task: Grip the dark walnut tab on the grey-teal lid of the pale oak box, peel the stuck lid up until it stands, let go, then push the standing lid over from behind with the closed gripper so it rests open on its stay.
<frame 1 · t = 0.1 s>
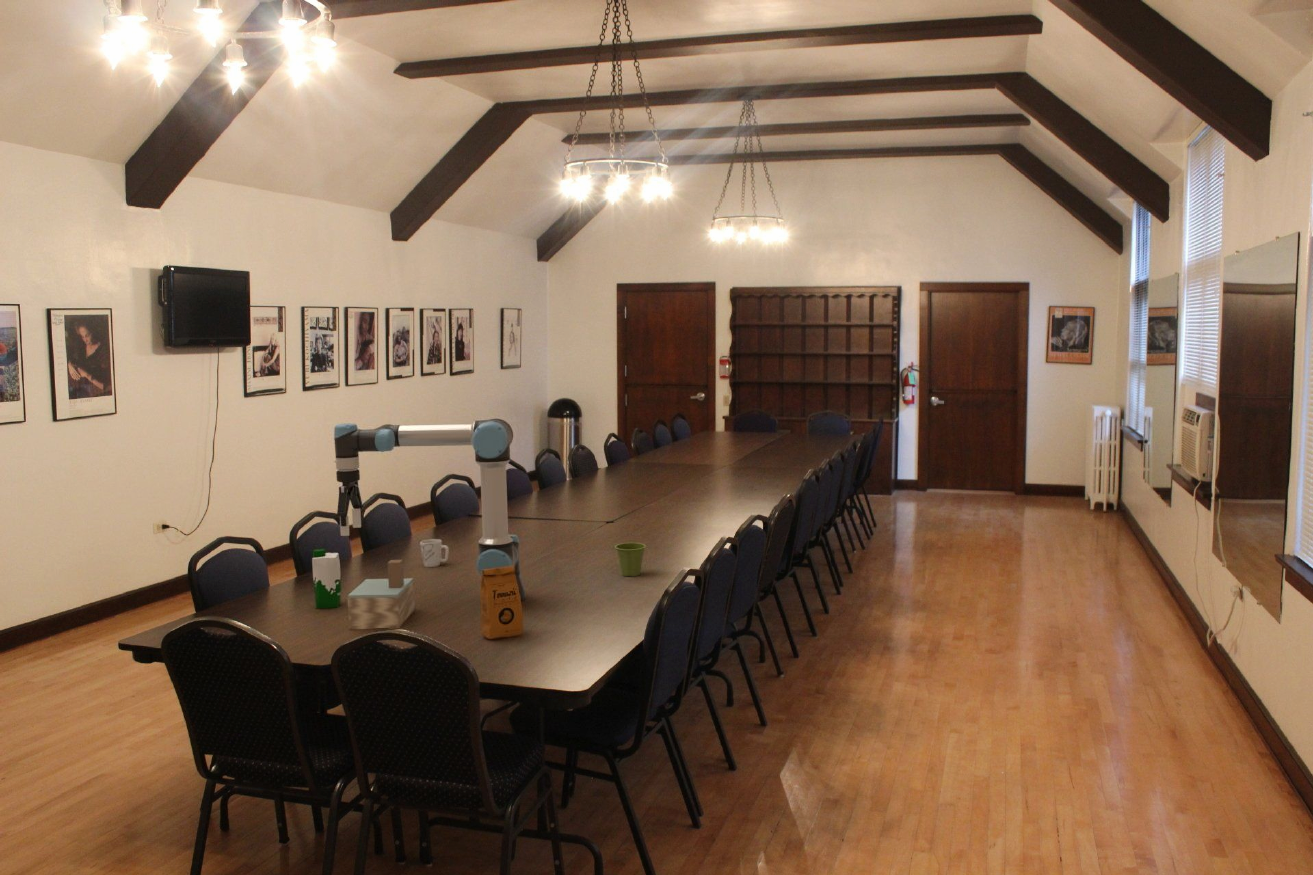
hand: (351, 531, 355), 28 cm above the table, fingers open, 13 cm apart
mug: (435, 565, 424), on the table
box: (383, 619, 349), on the table
coffee package: (502, 636, 328), on the table
plant pot: (631, 575, 403), on the table
lid: (380, 575, 347), point 15 cm above the table, hinge at 0.0°
milk carton: (328, 606, 367), on the table
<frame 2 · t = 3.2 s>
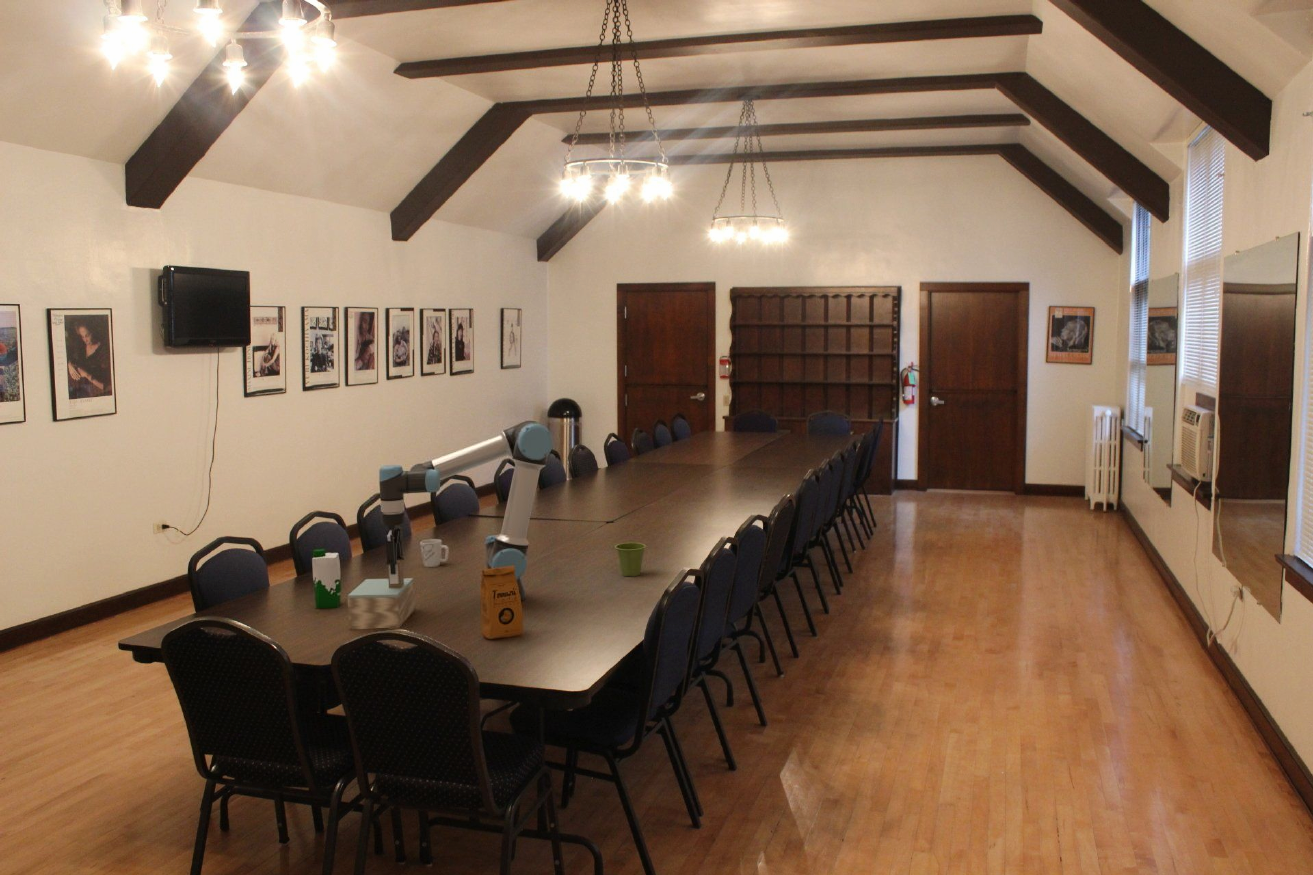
hand: (396, 581, 347), 13 cm above the table, fingers closed on lid, 4 cm apart
lid: (380, 575, 347), point 15 cm above the table, hinge at 0.0°, touching gripper
everything else where it was.
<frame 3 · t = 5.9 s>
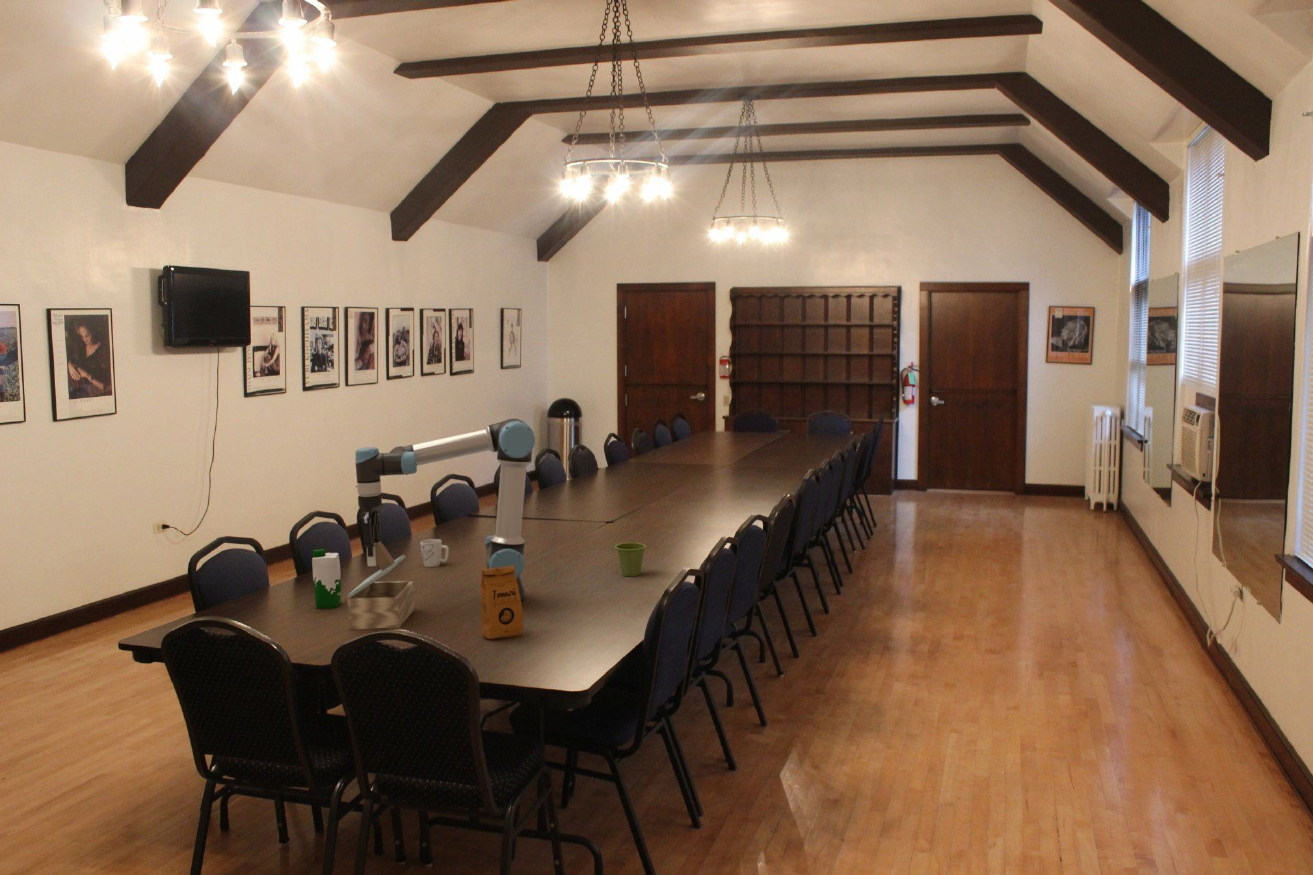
hand: (374, 563, 347), 19 cm above the table, fingers closed on lid, 4 cm apart
lid: (369, 565, 347), point 18 cm above the table, hinge at 32.2°, touching gripper
everything else where it was.
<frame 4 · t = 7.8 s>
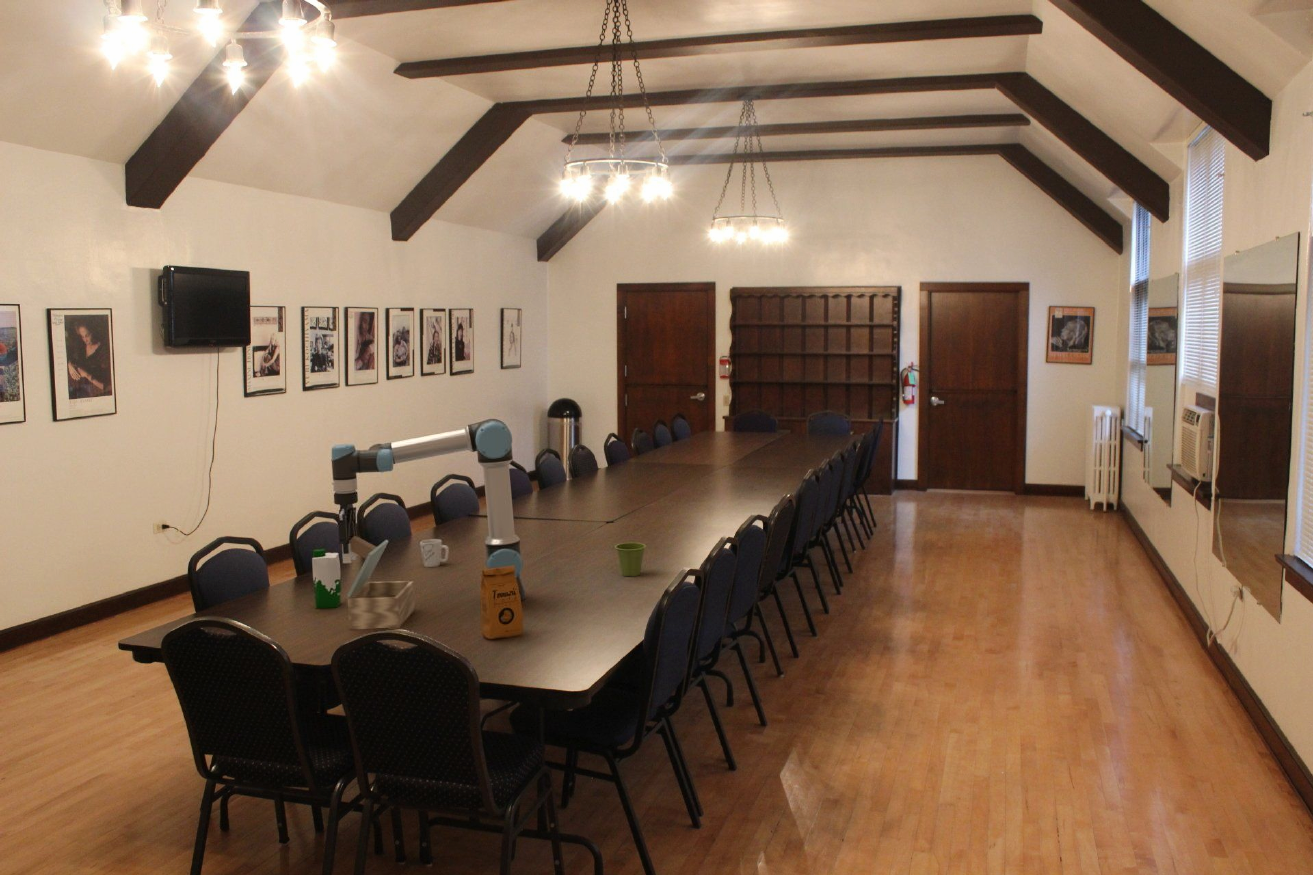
hand: (349, 560, 347), 20 cm above the table, fingers closed on lid, 4 cm apart
lid: (356, 561, 347), point 20 cm above the table, hinge at 60.3°, touching gripper
everything else where it was.
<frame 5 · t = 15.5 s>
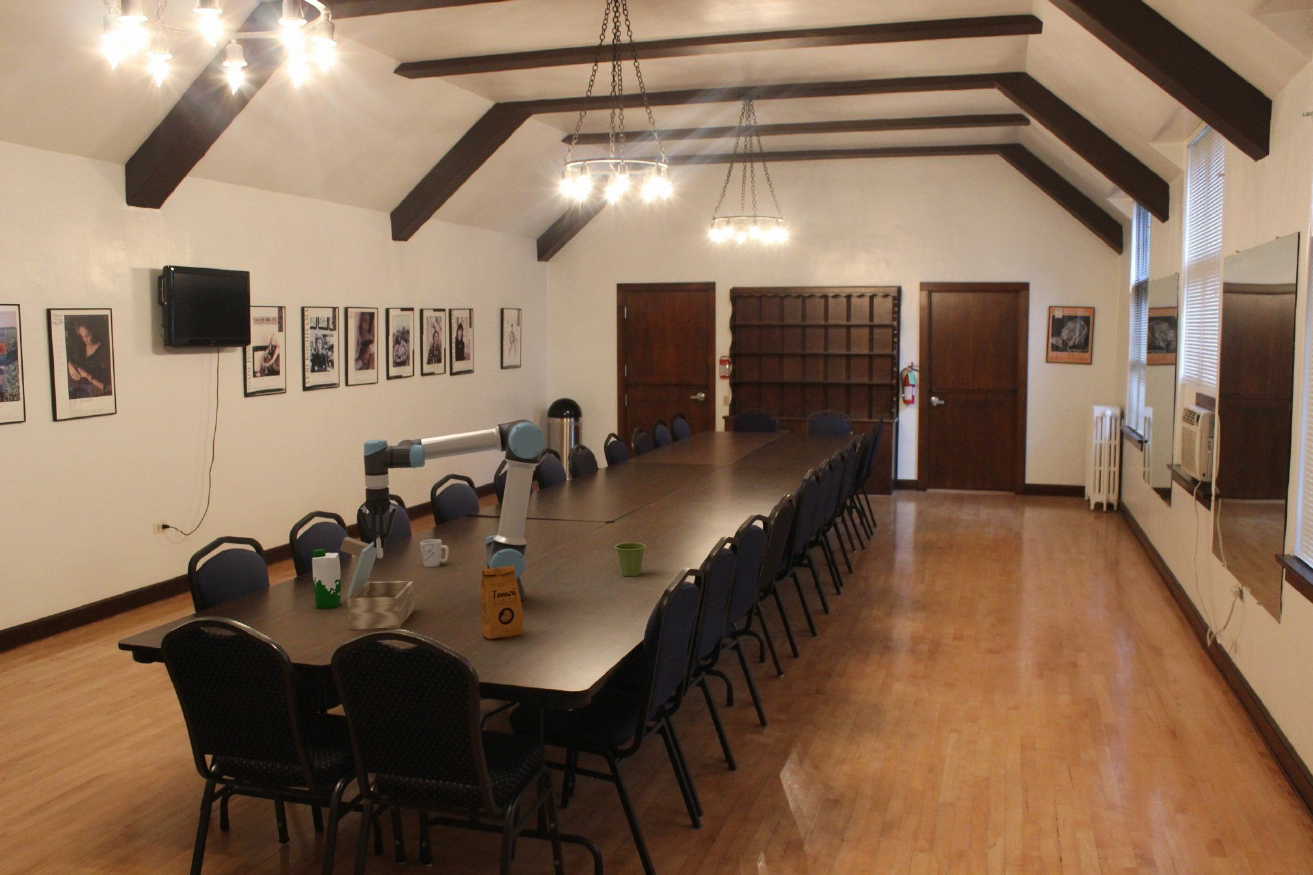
hand: (380, 557, 346), 21 cm above the table, fingers closed
lid: (352, 562, 347), point 20 cm above the table, hinge at 69.3°, touching gripper
everything else where it was.
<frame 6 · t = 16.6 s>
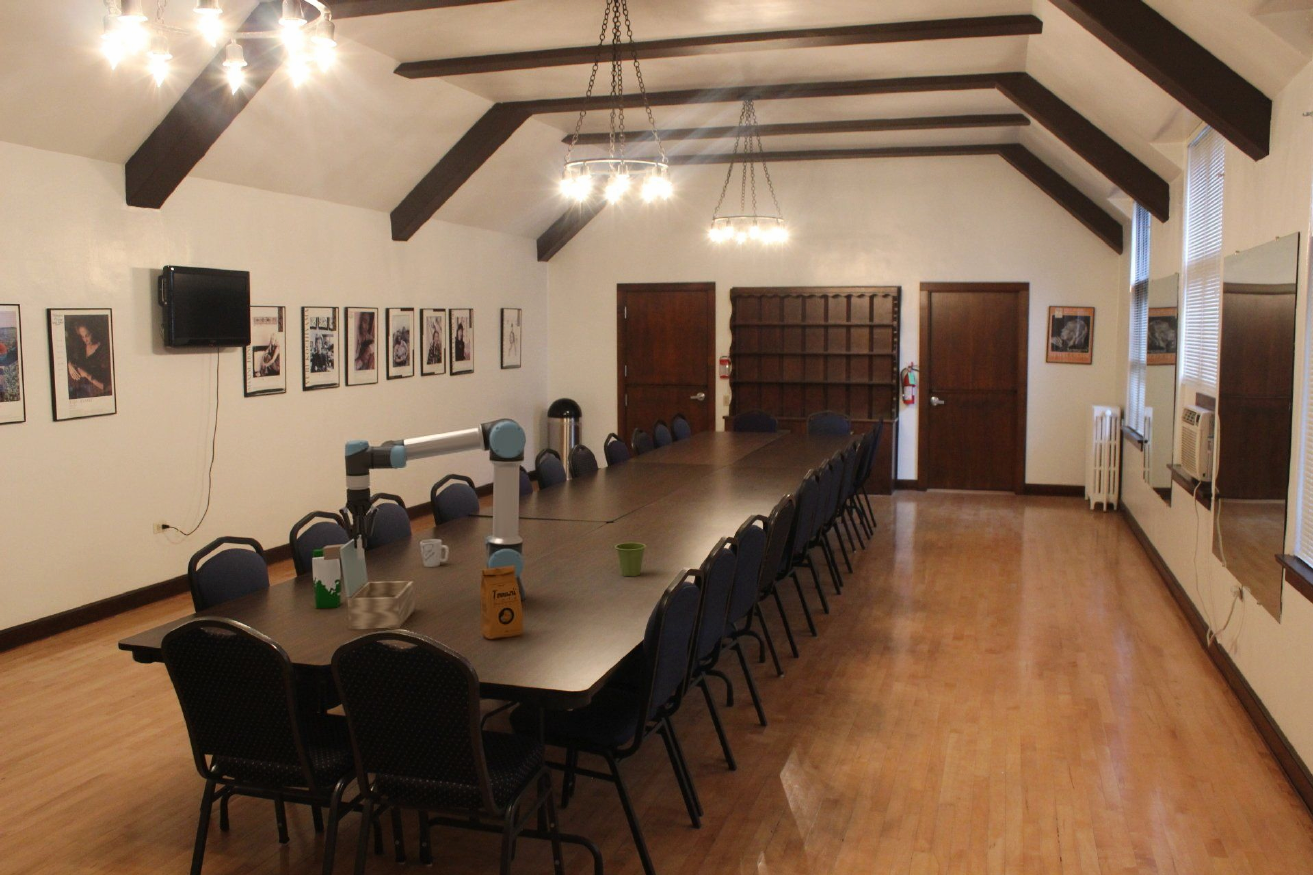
hand: (361, 557, 346), 21 cm above the table, fingers closed
lid: (341, 566, 347), point 18 cm above the table, hinge at 94.8°, touching gripper
everything else where it was.
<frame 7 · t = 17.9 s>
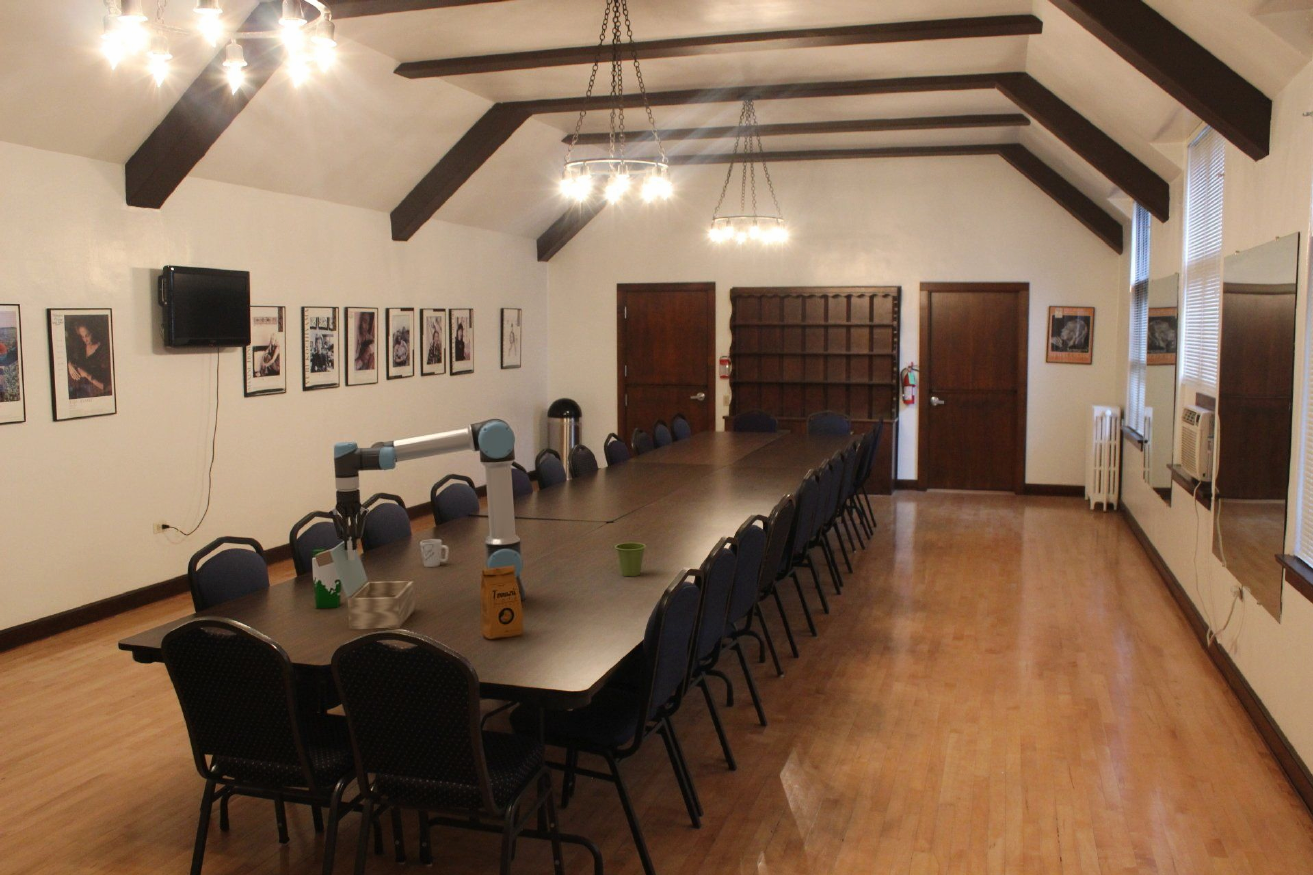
hand: (351, 559, 346), 20 cm above the table, fingers closed
lid: (337, 569, 347), point 17 cm above the table, hinge at 106.7°, touching gripper
everything else where it was.
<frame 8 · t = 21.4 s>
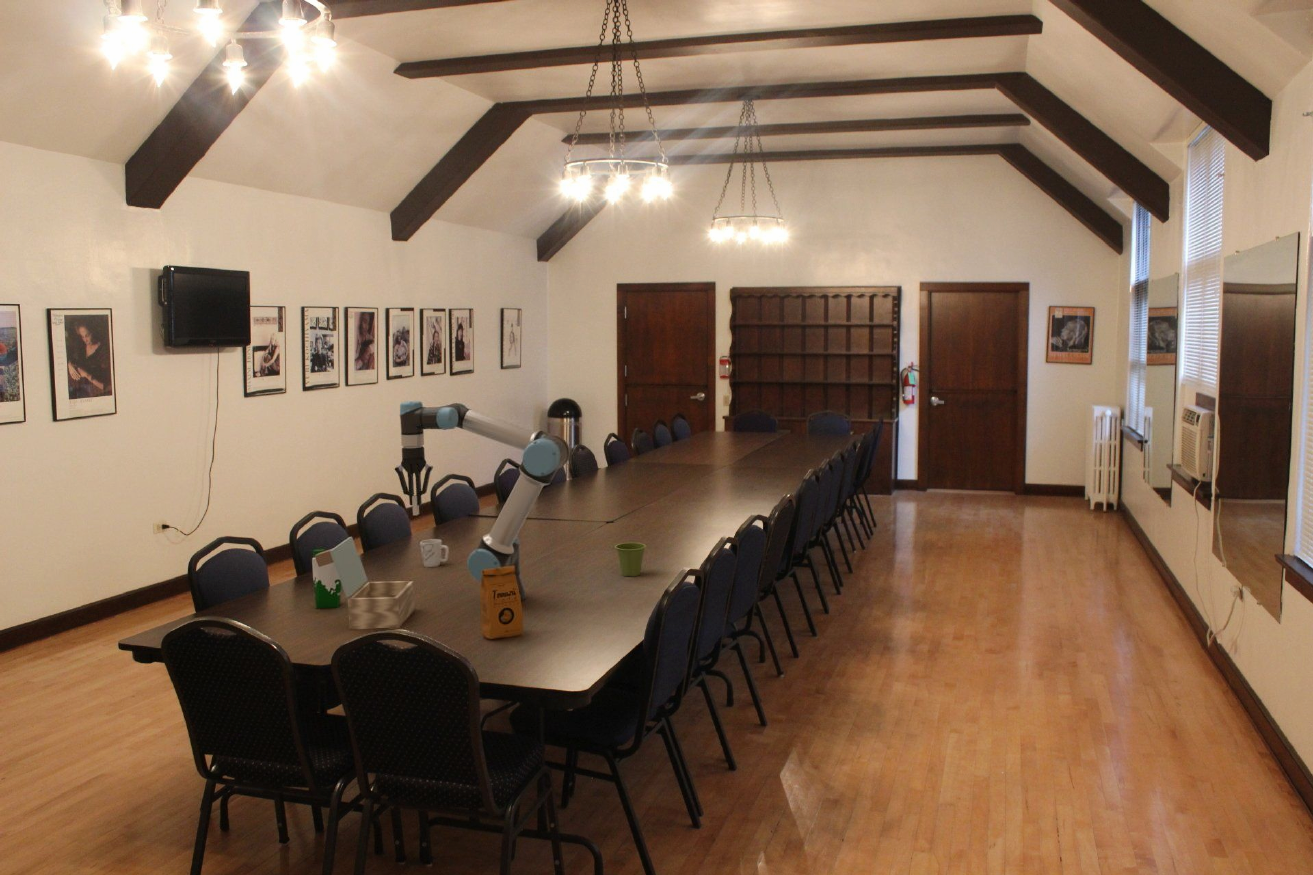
hand: (416, 514, 360), 32 cm above the table, fingers closed
lid: (337, 569, 347), point 17 cm above the table, hinge at 106.8°
everything else where it was.
at the end: lid at +107° (first picture: +0°); the gripper is holding nothing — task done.
